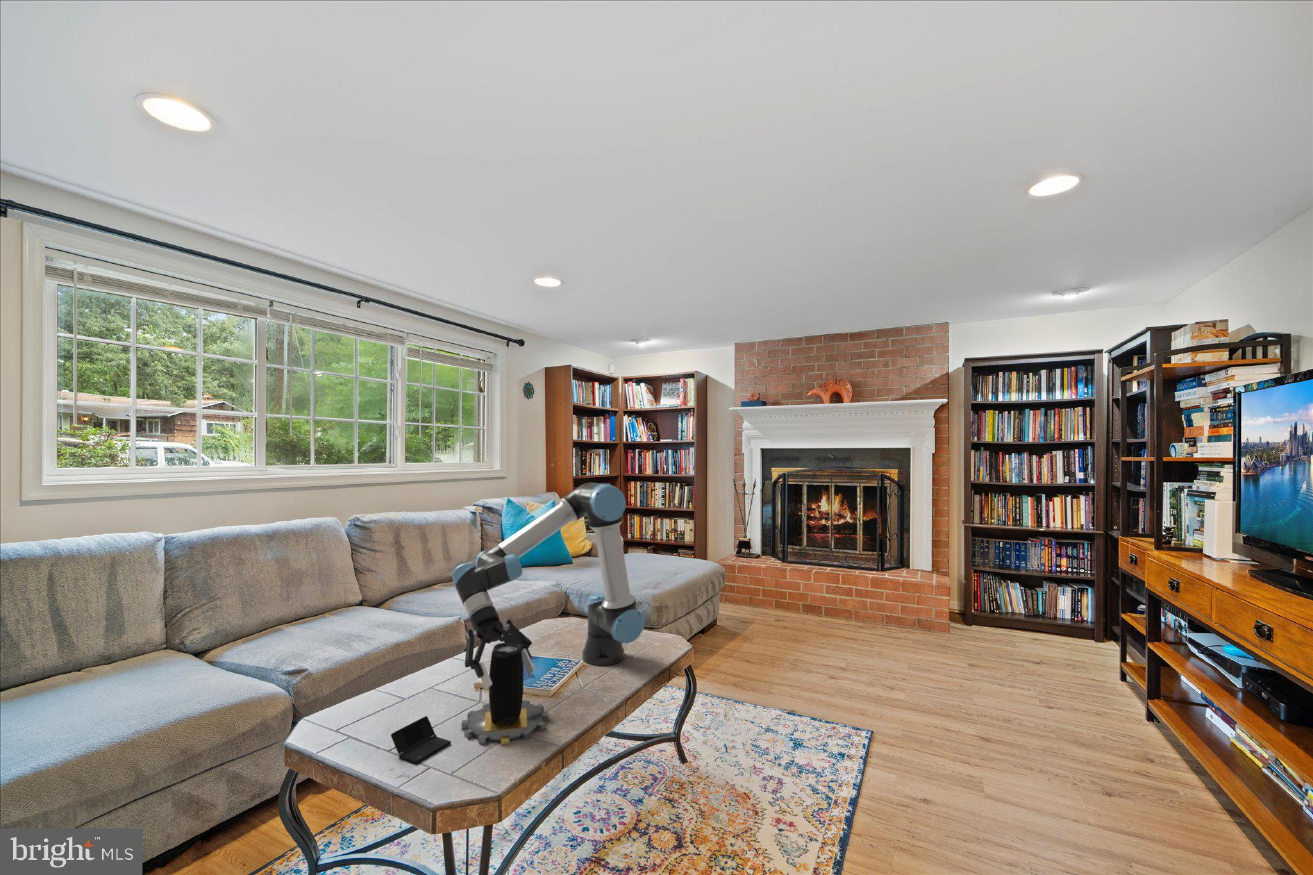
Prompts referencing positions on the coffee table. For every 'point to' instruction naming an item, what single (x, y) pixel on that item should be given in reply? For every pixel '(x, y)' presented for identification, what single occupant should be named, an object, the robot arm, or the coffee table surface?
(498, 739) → the sprocket plate
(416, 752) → the handheld gaming console
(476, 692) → the coffee table surface
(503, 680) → the portable speaker
